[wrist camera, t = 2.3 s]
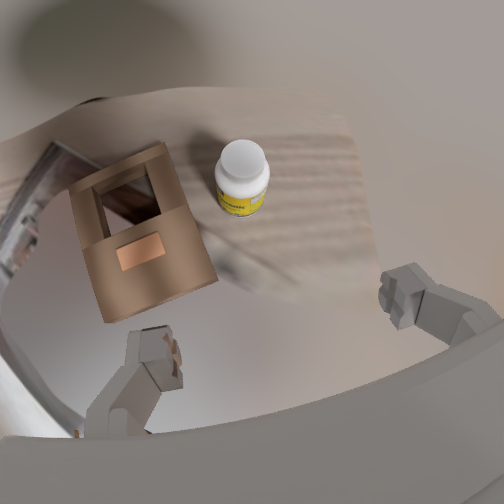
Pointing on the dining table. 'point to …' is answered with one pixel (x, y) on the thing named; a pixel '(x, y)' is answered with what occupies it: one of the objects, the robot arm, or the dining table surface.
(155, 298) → the block
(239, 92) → the dining table surface
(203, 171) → the dining table surface
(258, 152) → the supplement bottle
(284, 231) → the dining table surface
